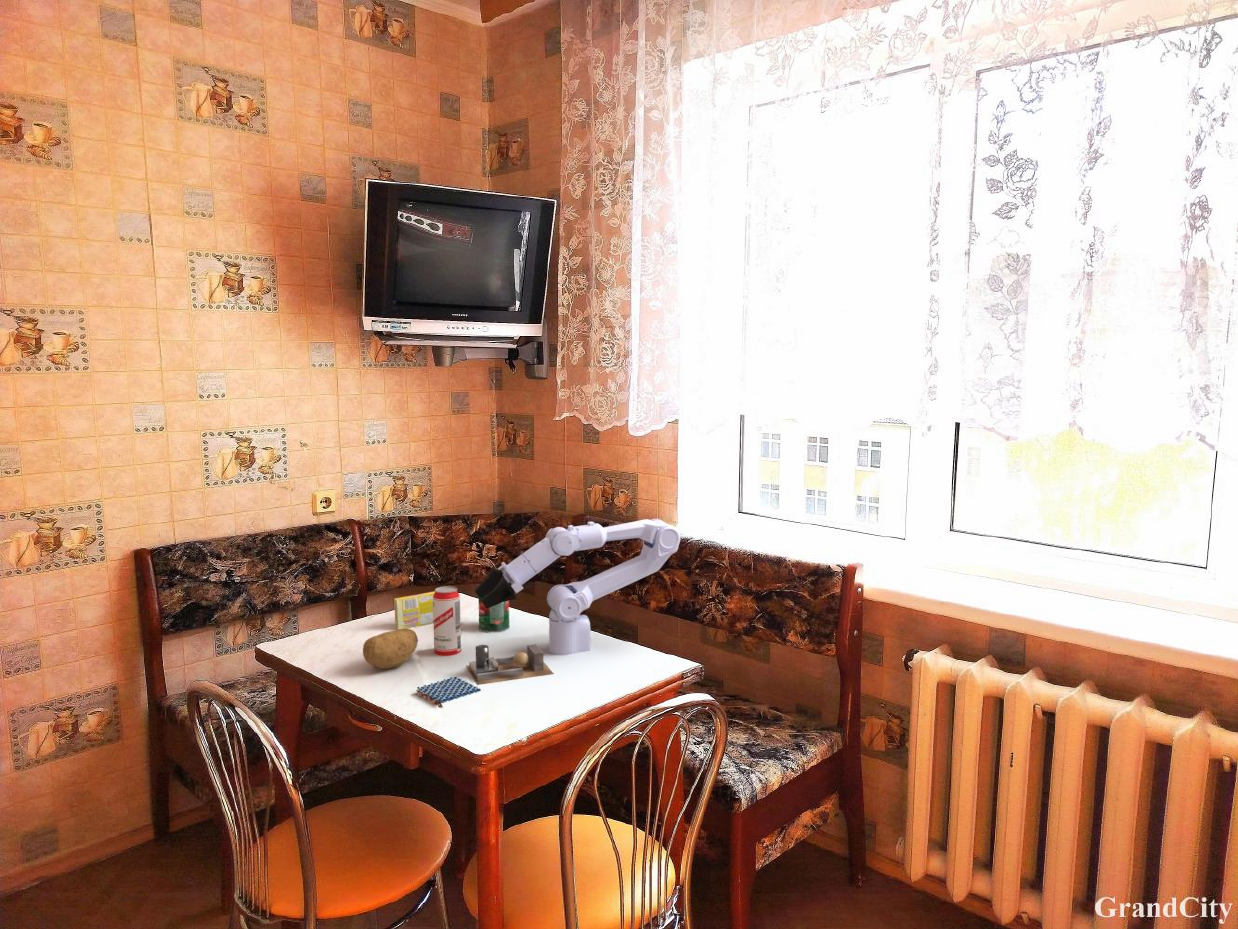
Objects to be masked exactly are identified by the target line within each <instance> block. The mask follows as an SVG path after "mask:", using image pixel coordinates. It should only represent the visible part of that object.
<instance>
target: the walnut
mask: <svg viewBox="0 0 1238 929" xmlns="http://www.w3.org/2000/svg"><path fill="white" fill-rule="evenodd" d="M528 663H529V657H528V655H527V652H522V651H519V652H517V653H515V654H514V655H513V664H514V665H515V667H517V668H525V667H526V666H527V665H528Z"/></svg>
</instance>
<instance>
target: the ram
mask: <svg viewBox="0 0 1238 929" xmlns="http://www.w3.org/2000/svg"><path fill="white" fill-rule="evenodd" d="M489 652H490V651H489V645H486V644H479V645H476V646H475V661H476V662H472V661H470V662H471V670H472V672H473V674H474V675H475V677H476V679H477V674H481V673H488V672H495V671H498V663H497V661H496V660H495V657H494V656H492V657H489V655H490V654H489Z"/></svg>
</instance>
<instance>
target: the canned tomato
mask: <svg viewBox="0 0 1238 929" xmlns="http://www.w3.org/2000/svg"><path fill="white" fill-rule="evenodd" d="M486 596H487V595H486ZM477 597H478V630H480V631H481V632H483V631H484V633H488V632H494V633H495V632H497V633H502V631H503V632H505V631H507V630H509V629H510V600H509V601H505V602H502V603H499V604H497V605H495V606H493V607H490V608H488V609H486V608H485V606H484V605H483V603H482V602H481V601H482V600H483V598H484V597H485V596H484V597H482V598H479V596H478V595H477ZM495 634H496V633H495Z"/></svg>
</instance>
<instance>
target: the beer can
mask: <svg viewBox="0 0 1238 929" xmlns="http://www.w3.org/2000/svg"><path fill="white" fill-rule="evenodd" d="M434 591H435V593H434V595H433V624H432V625H433V651H434V652H433V653H434V654H435V655H437V656H440V657H448V656H449V657H450V656H456V655H458V654H460V653H461V652H462V634H461V632H462V631H461V630H462V629H461V596H460V593H459V592H458V588H457V587H456V586H451V585H448V586H445V585H444V586H440V587H437V588H434Z"/></svg>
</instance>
